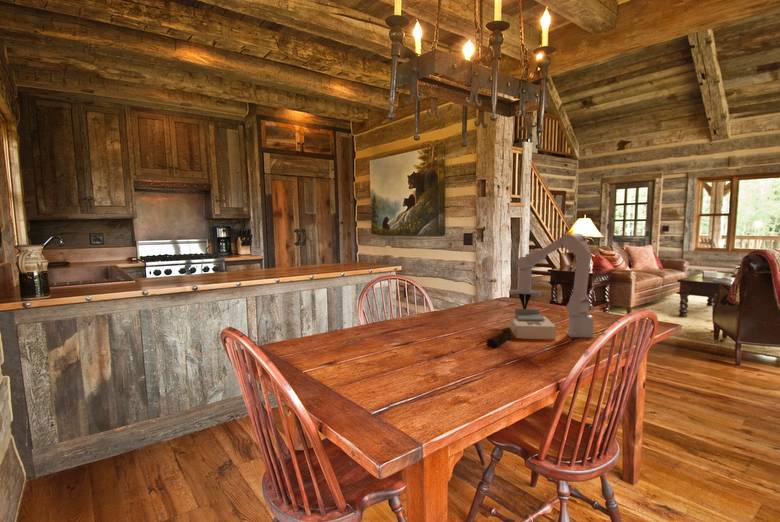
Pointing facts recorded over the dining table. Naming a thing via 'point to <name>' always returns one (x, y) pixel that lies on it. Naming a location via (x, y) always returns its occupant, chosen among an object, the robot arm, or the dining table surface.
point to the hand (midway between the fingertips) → (524, 309)
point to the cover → (528, 314)
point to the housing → (532, 329)
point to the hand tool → (499, 338)
